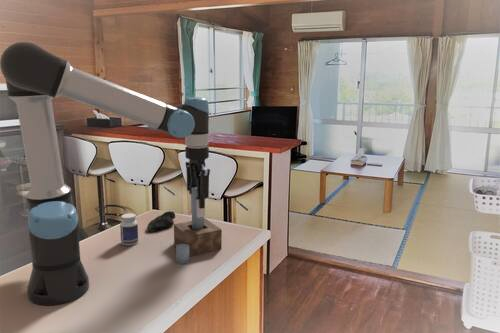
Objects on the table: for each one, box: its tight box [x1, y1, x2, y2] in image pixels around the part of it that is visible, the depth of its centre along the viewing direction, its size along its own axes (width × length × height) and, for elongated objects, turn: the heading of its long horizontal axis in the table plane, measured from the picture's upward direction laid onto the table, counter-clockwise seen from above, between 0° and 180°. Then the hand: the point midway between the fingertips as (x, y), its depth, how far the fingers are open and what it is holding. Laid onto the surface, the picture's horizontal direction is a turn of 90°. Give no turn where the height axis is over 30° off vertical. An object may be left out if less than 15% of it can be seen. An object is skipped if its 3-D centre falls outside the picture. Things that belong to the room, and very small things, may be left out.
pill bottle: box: [119, 212, 139, 247], centre depth 146 cm, size 6×6×10 cm
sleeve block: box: [173, 217, 223, 257], centre depth 145 cm, size 12×12×7 cm
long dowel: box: [191, 186, 205, 231], centre depth 143 cm, size 4×4×16 cm
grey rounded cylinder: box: [175, 244, 190, 265], centre depth 134 cm, size 4×4×5 cm
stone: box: [146, 211, 176, 233], centre depth 161 cm, size 7×13×5 cm, turn 144°
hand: (197, 214), depth 143 cm, fingers closed on long dowel, 4 cm apart
